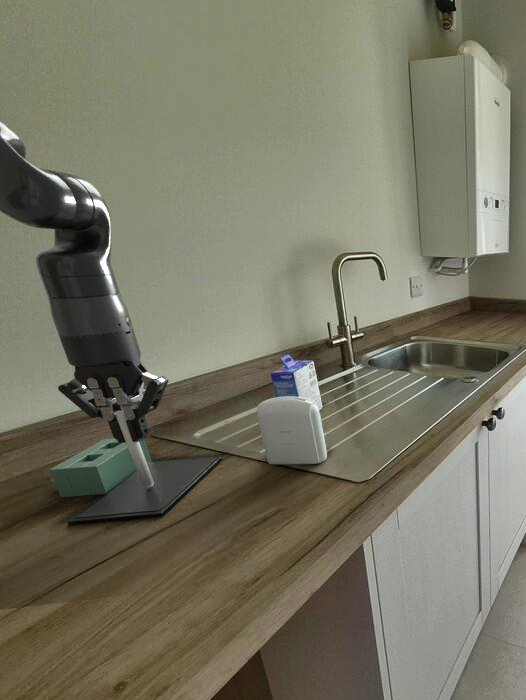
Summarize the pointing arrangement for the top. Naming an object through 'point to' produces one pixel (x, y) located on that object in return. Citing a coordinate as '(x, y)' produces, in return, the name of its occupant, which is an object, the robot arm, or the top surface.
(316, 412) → the photo printer
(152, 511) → the tablet
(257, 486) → the top surface
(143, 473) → the stylus
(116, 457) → the pen stand
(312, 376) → the ink cartridge box
